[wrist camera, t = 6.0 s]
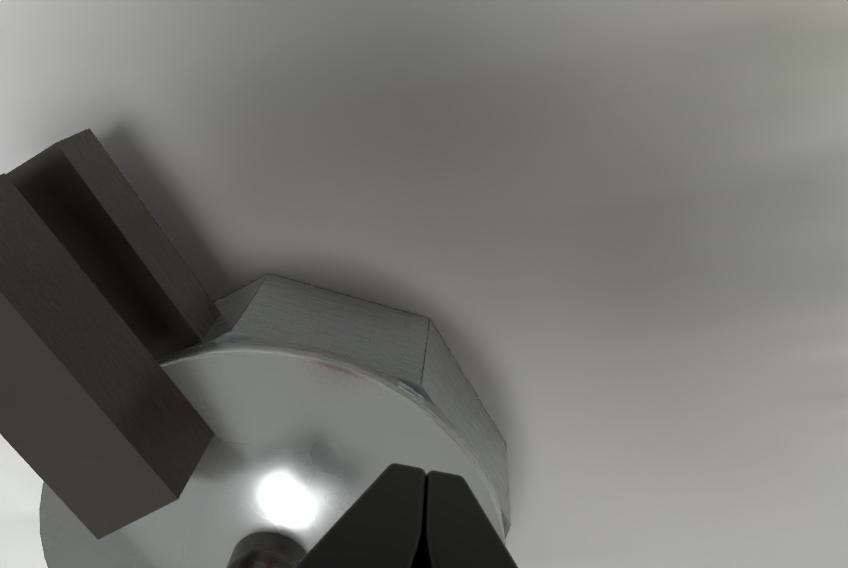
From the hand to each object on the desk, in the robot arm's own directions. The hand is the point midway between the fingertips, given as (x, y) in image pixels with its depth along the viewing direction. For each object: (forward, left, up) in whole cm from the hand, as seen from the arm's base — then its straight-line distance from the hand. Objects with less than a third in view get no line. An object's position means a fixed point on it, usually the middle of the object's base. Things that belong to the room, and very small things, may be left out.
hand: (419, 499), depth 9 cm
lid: (-3, +8, -9) cm, 12 cm away
